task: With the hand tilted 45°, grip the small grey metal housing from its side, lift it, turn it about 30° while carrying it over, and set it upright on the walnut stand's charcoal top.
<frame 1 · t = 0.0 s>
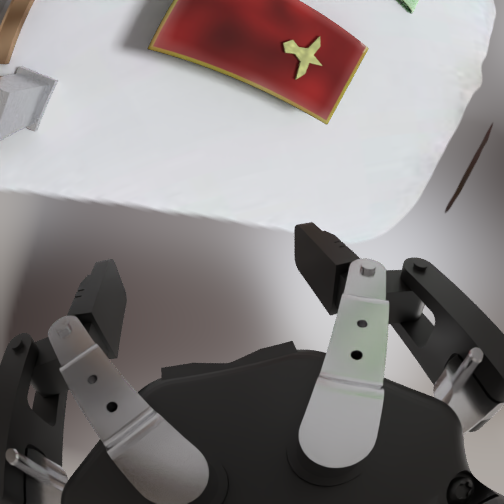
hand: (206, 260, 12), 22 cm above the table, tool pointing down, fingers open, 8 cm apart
housing: (28, 97, 19), on the table
hardcover book: (260, 39, 24), on the table
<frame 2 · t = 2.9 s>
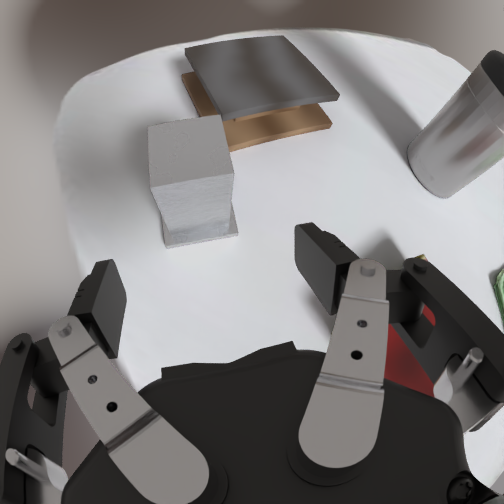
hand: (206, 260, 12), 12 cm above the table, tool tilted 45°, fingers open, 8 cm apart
housing: (196, 209, 25), on the table
hardcover book: (413, 372, 23), on the table
stand: (253, 98, 30), on the table
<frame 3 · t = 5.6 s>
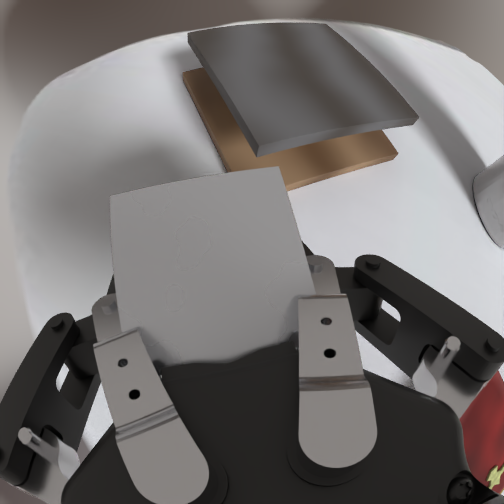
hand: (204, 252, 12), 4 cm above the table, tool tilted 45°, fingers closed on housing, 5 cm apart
housing: (214, 302, 16), on the table, touching gripper
hardcover book: (460, 456, 14), on the table
stand: (288, 111, 21), on the table
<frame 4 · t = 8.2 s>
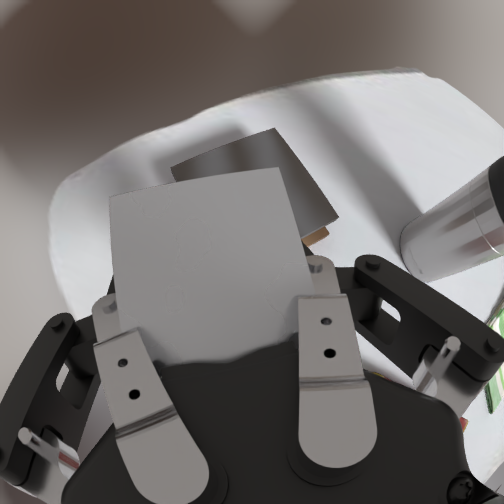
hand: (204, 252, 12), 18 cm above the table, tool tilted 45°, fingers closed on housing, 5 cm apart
housing: (214, 303, 16), point 14 cm above the table, touching gripper
stand: (248, 212, 33), on the table
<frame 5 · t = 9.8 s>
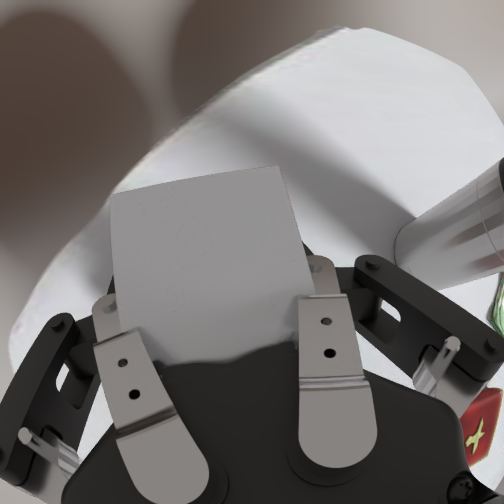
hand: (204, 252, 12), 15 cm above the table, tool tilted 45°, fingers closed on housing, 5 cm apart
housing: (214, 302, 16), point 11 cm above the table, touching gripper
hardcover book: (440, 437, 25), on the table
when the fingers open (11 cm above the table, at t = 10.9 s): housing drops 1 cm, resting on stand.
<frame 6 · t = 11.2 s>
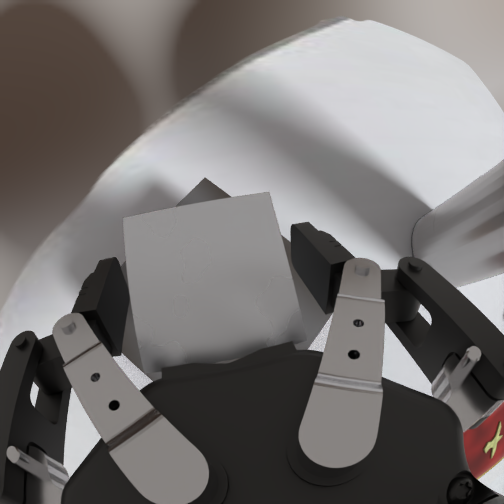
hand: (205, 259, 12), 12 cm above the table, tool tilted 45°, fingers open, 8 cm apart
housing: (214, 306, 17), point 5 cm above the table, touching stand
hardcover book: (457, 446, 21), on the table
stand: (216, 311, 22), on the table
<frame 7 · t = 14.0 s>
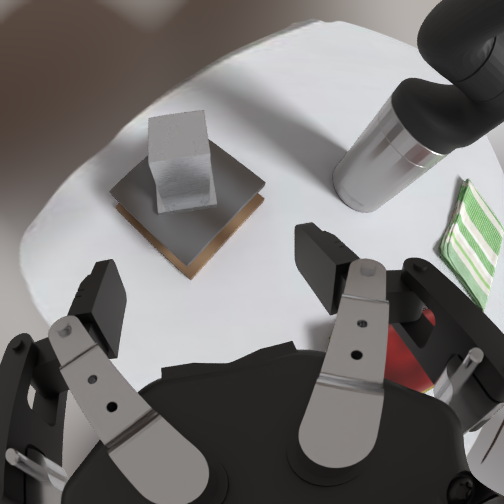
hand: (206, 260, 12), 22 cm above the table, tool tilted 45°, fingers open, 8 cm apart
housing: (185, 185, 30), point 5 cm above the table, touching stand
dish towel: (472, 242, 43), on the table
hardcover book: (394, 358, 35), on the table
stand: (188, 204, 35), on the table
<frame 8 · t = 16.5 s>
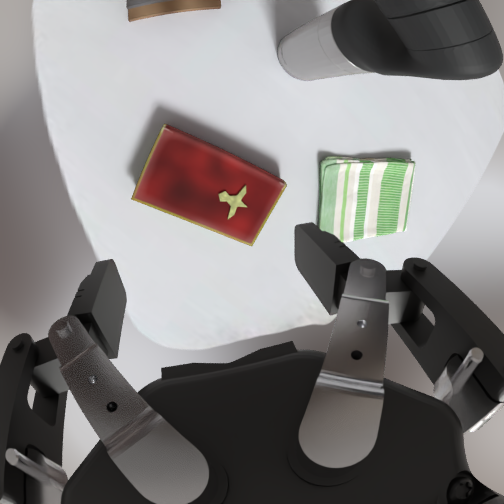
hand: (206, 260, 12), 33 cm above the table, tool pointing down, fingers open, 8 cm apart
dish towel: (365, 197, 52), on the table
hardcover book: (208, 182, 44), on the table
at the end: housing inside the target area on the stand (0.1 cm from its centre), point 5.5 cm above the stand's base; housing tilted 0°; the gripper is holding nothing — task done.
